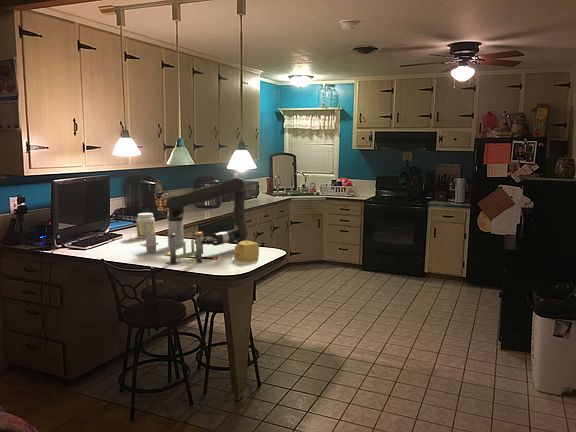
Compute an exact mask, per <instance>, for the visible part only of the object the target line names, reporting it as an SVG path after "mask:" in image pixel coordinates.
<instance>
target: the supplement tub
mask: <svg viewBox="0 0 576 432" xmlns="http://www.w3.org/2000/svg"><path fill="white" fill-rule="evenodd" d="M155 223H156V222H155V217H154V213H153V212H140V213H138V214H137V218H136V236H137V238H138V239H142V240H143V239H144V240H146V236H148V235H150V233H152V234H156V224H155Z"/></svg>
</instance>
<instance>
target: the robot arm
mask: <svg viewBox="0 0 576 432" xmlns="http://www.w3.org/2000/svg"><path fill="white" fill-rule="evenodd" d="M246 188H247V183H246V180H244V179H243V178H241V177H234V178H232V179H230V180H226V181H224V182H221V183H216V184H210V185H206V186H202V187H199V188H197V189H195V190H192V191H190V192H188V193H184V194H179V195H178V194H173V195H171V196H169V197H168V199H166V202H165V203H166V207H167V208H168V211H169V213H168V215H167V216H168V217H167V219H168V220H167V223H168V232H167V241H168V243H167V245H168V247H169V248H170V236H169V234H170V233H176V235H175V247H176V249H179V248H180V249H181V248H183V242H185V241H184V211H185V210H184V209H185V207H187V206H191V205H197V204H201V203H207V202H209V201H212V200H215V199H217V198H220V197H222V196H224V195H228V194H233V195H234V204H233V224H234V226H237V228H235V229H231V230H227V231H219V232H213V233H212V234H210V236H206V237H204V236H203V240H202V241H201V245H202V244H203V245H212V246H215V247H216V246H220V245H225V244H229V243H233V242H234V241H246V240H247V238H248V233H249V232H248V230H247V229H248V228H247V224H246V222H245V221H246V217H245V216H246V215H245V195H246V194H245V193H246ZM194 245H196V239H195V240H194Z"/></svg>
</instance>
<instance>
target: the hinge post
mask: <svg viewBox="0 0 576 432" xmlns="http://www.w3.org/2000/svg"><path fill="white" fill-rule="evenodd" d="M175 235H176V233H170V234H169V236H170V247H169V256H170V259H169V260H170V261H167V262H165V265H166V264H167V265H170V266H174V265H179V264H181V263H182V262H181V261H177V259H176V255H177V252H176V249H177V248H176V247H175Z"/></svg>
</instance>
